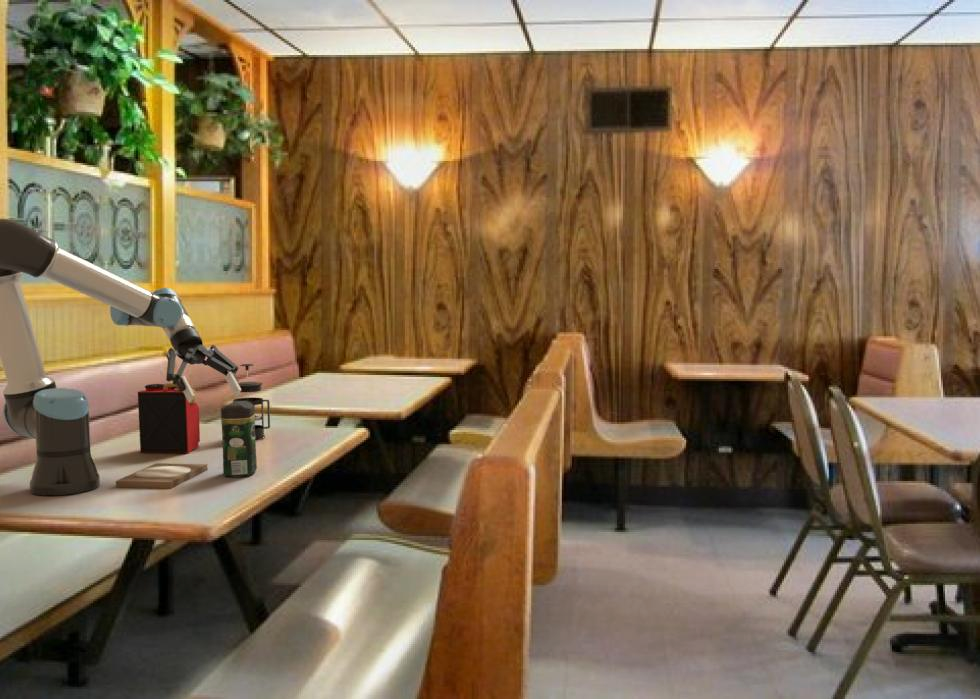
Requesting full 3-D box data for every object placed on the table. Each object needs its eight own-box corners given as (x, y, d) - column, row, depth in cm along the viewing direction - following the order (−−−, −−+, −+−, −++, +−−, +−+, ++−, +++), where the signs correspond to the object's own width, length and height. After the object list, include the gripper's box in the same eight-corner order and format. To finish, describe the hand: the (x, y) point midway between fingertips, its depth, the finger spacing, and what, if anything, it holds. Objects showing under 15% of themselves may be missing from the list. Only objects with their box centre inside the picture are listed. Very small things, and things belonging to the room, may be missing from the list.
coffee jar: (228, 470, 236) (226, 399, 234) (259, 469, 236) (257, 398, 235) (219, 478, 226) (217, 404, 225) (251, 477, 227) (249, 404, 225)
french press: (227, 440, 277) (225, 365, 275) (235, 435, 286) (233, 362, 284) (266, 440, 277) (264, 365, 275) (273, 434, 286) (271, 362, 284)
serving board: (171, 488, 216) (171, 481, 216) (115, 487, 218) (115, 480, 218) (207, 469, 236) (207, 463, 236) (156, 468, 238) (156, 462, 238)
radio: (203, 447, 267) (201, 379, 265) (188, 454, 257) (186, 383, 255) (152, 446, 269) (149, 379, 267) (135, 453, 259) (132, 383, 257)
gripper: (219, 342, 257) (251, 399, 248) (134, 348, 238) (166, 411, 230) (229, 324, 253) (262, 382, 244) (144, 329, 234) (176, 391, 226)
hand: (215, 396), depth 237 cm, fingers open, 13 cm apart
